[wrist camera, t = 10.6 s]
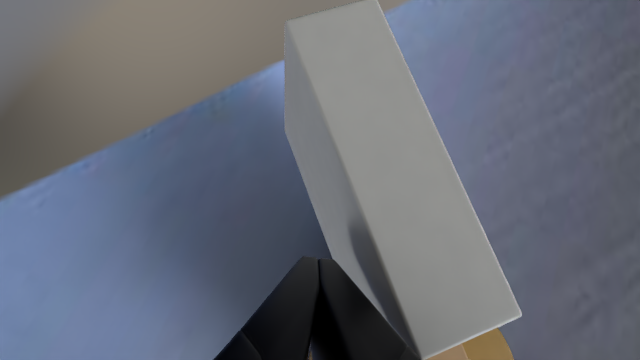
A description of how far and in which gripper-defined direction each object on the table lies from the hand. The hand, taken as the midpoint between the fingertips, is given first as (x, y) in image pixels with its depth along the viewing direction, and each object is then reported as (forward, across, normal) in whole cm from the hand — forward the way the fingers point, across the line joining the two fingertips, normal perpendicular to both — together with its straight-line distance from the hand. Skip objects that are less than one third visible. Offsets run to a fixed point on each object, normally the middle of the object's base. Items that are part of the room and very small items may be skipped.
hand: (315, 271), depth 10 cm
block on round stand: (+4, +2, -3) cm, 6 cm away
